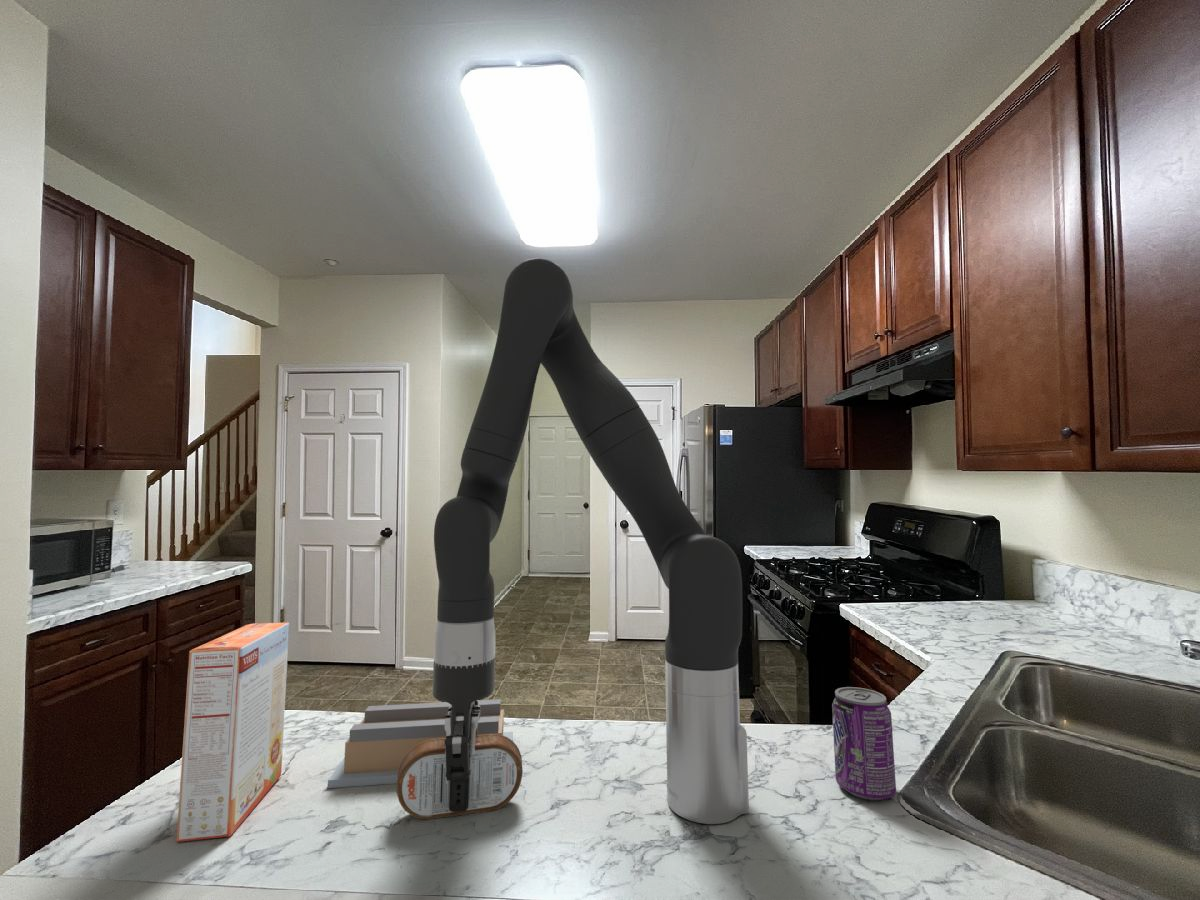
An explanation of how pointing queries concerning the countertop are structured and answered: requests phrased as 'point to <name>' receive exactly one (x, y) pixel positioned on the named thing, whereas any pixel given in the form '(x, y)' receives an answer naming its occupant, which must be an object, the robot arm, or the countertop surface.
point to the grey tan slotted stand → (400, 739)
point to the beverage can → (863, 743)
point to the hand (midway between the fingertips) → (460, 800)
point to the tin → (488, 782)
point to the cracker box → (232, 728)
